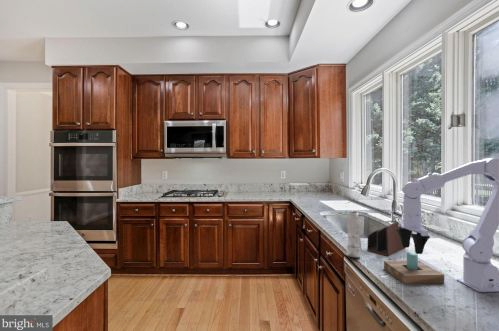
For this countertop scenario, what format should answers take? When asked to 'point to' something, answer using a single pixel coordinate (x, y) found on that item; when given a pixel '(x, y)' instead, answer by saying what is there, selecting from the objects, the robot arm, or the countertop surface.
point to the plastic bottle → (354, 236)
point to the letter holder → (385, 240)
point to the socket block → (413, 273)
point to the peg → (412, 261)
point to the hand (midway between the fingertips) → (412, 250)
